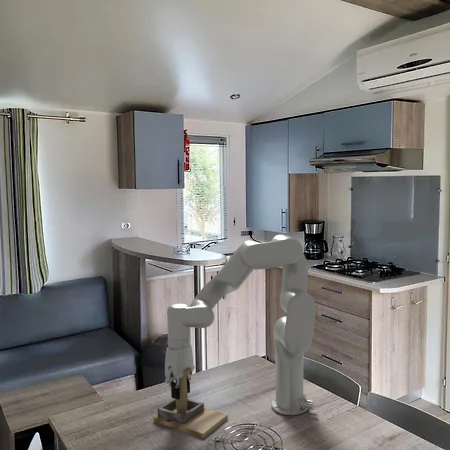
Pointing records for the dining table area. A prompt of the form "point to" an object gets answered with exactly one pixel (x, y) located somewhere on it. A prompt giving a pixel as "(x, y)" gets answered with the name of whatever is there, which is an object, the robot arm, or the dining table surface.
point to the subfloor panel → (190, 418)
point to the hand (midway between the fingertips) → (180, 394)
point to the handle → (183, 393)
